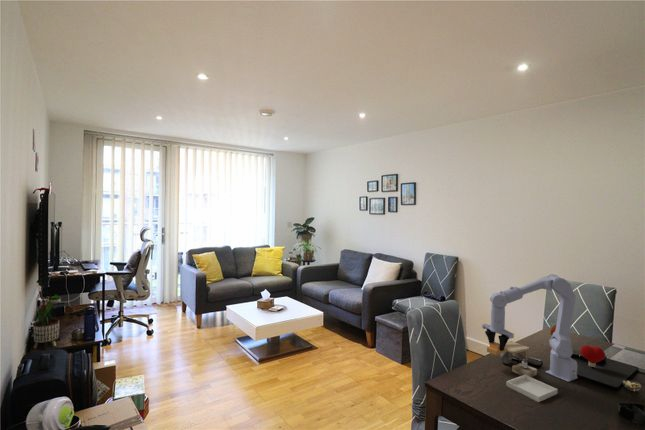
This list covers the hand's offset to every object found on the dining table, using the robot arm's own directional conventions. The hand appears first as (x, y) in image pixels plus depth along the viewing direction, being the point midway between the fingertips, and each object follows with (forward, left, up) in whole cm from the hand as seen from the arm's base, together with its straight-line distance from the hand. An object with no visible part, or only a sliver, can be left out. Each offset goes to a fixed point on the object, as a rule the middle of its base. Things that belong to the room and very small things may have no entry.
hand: (496, 348), depth 159 cm
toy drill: (-3, -48, -9) cm, 49 cm away
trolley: (0, -11, -8) cm, 14 cm away
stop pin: (-10, -5, -8) cm, 14 cm away
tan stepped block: (0, 0, -2) cm, 2 cm away
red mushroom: (-21, -40, -9) cm, 46 cm away
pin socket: (-10, -5, -8) cm, 14 cm away
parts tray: (-20, +7, -8) cm, 23 cm away
